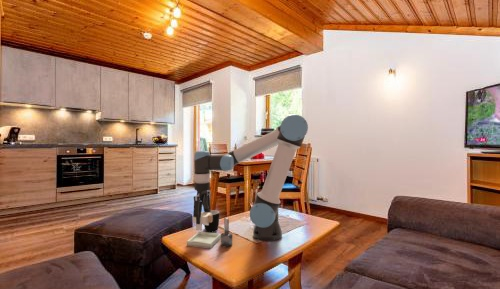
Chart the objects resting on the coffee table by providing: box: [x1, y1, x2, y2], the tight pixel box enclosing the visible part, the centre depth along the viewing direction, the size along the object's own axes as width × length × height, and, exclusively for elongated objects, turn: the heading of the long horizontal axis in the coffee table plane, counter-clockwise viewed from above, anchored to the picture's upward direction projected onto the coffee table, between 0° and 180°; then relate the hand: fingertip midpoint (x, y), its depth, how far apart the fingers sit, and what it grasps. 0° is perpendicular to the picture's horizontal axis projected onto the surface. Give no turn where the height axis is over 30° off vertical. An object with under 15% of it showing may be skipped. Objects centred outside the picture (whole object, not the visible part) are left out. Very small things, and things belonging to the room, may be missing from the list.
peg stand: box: [220, 216, 233, 248], centre depth 120 cm, size 6×6×13 cm
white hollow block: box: [192, 211, 213, 225], centre depth 123 cm, size 9×7×3 cm
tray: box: [186, 231, 222, 249], centre depth 124 cm, size 13×13×2 cm
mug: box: [203, 209, 220, 233], centre depth 141 cm, size 12×9×10 cm
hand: (202, 227), depth 124 cm, fingers closed on white hollow block, 7 cm apart
